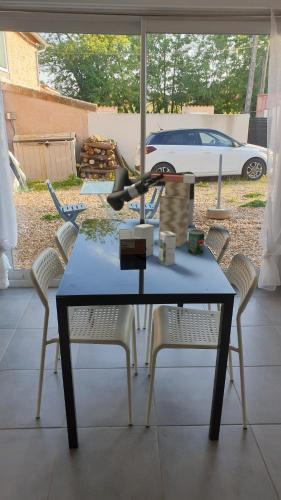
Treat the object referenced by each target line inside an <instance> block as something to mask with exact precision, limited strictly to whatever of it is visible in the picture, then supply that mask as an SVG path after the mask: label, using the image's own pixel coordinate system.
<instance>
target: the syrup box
mask: <svg viewBox="0 0 281 500" xmlns="http://www.w3.org/2000/svg"><path fill="white" fill-rule="evenodd" d="M175 243H176V234H174V233H172V232H171V231H165V232H160V242H159V241H158V245H159V246H158V247H159V249H158V250H159V251H158V263H160V265H162V266H163V267H165V266H172V265H175V257H176V246H175Z"/></svg>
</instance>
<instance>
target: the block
mask: <svg viewBox="0 0 281 500" xmlns="http://www.w3.org/2000/svg"><path fill="white" fill-rule="evenodd" d="M193 174H194V173H193ZM193 174H185V175H184V176H181V175H164V174H163V175H164V178H162V179H160V180H158V181H165V182H180V183H194V184H196V181H195V176H196V174H194V175H193ZM159 175H160V174H151V178H154V177H157V176H159Z"/></svg>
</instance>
